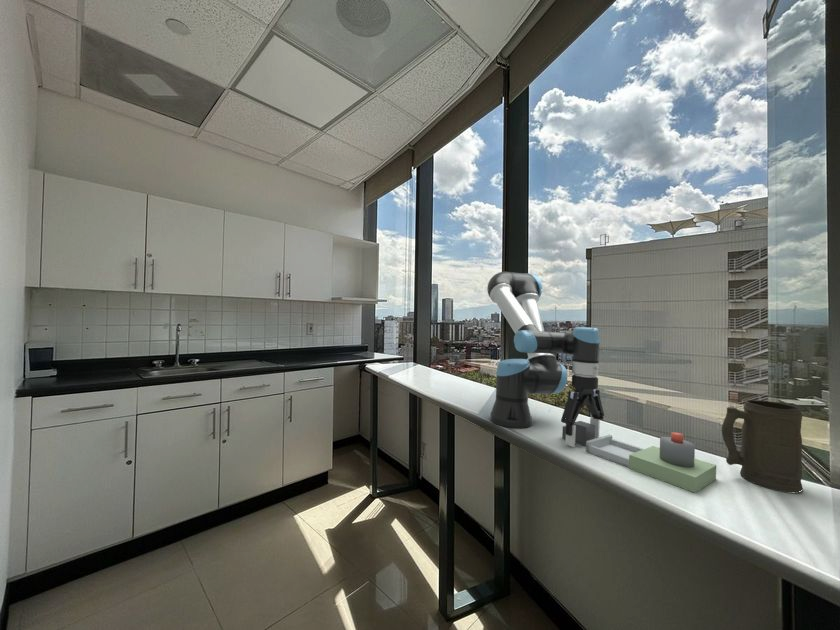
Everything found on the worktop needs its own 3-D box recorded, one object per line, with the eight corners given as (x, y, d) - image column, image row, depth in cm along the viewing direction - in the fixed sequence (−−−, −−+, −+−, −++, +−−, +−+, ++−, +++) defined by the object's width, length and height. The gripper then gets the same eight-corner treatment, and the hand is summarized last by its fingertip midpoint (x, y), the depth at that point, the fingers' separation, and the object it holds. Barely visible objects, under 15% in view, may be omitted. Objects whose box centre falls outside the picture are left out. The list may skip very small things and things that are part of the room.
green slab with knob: (584, 451, 96) (586, 416, 97) (609, 443, 104) (610, 410, 104) (694, 492, 75) (696, 446, 75) (715, 479, 82) (717, 437, 82)
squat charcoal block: (562, 438, 108) (562, 420, 108) (571, 436, 110) (571, 418, 110) (585, 446, 101) (586, 427, 101) (594, 444, 104) (595, 425, 104)
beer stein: (775, 474, 87) (771, 398, 87) (821, 495, 76) (816, 409, 76) (713, 473, 88) (709, 398, 89) (749, 493, 77) (744, 408, 78)
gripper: (573, 379, 95) (570, 453, 94) (617, 375, 108) (615, 439, 108) (550, 375, 101) (548, 444, 100) (594, 372, 115) (592, 432, 114)
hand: (582, 442), depth 104 cm, fingers open, 13 cm apart
